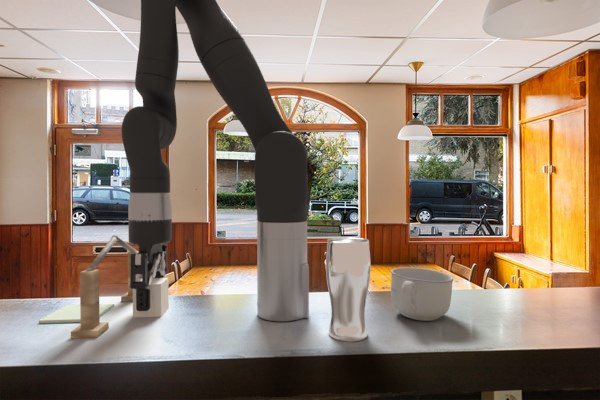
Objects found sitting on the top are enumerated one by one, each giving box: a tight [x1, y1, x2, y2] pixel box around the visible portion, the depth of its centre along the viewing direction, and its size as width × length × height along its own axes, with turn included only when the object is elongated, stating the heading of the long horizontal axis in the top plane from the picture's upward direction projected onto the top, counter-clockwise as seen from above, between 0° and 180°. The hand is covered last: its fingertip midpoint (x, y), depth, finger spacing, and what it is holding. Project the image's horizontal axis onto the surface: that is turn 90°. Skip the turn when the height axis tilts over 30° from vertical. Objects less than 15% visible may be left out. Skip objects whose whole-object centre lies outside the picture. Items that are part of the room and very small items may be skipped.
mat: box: [38, 303, 115, 324], centre depth 70 cm, size 9×9×1 cm
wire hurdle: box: [70, 234, 138, 339], centre depth 71 cm, size 4×24×15 cm, turn 5°
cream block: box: [132, 277, 170, 318], centre depth 71 cm, size 5×5×6 cm
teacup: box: [390, 267, 454, 322], centre depth 68 cm, size 14×11×8 cm
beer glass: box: [325, 237, 371, 342], centre depth 60 cm, size 7×7×15 cm
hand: (150, 303), depth 71 cm, fingers open, 8 cm apart
